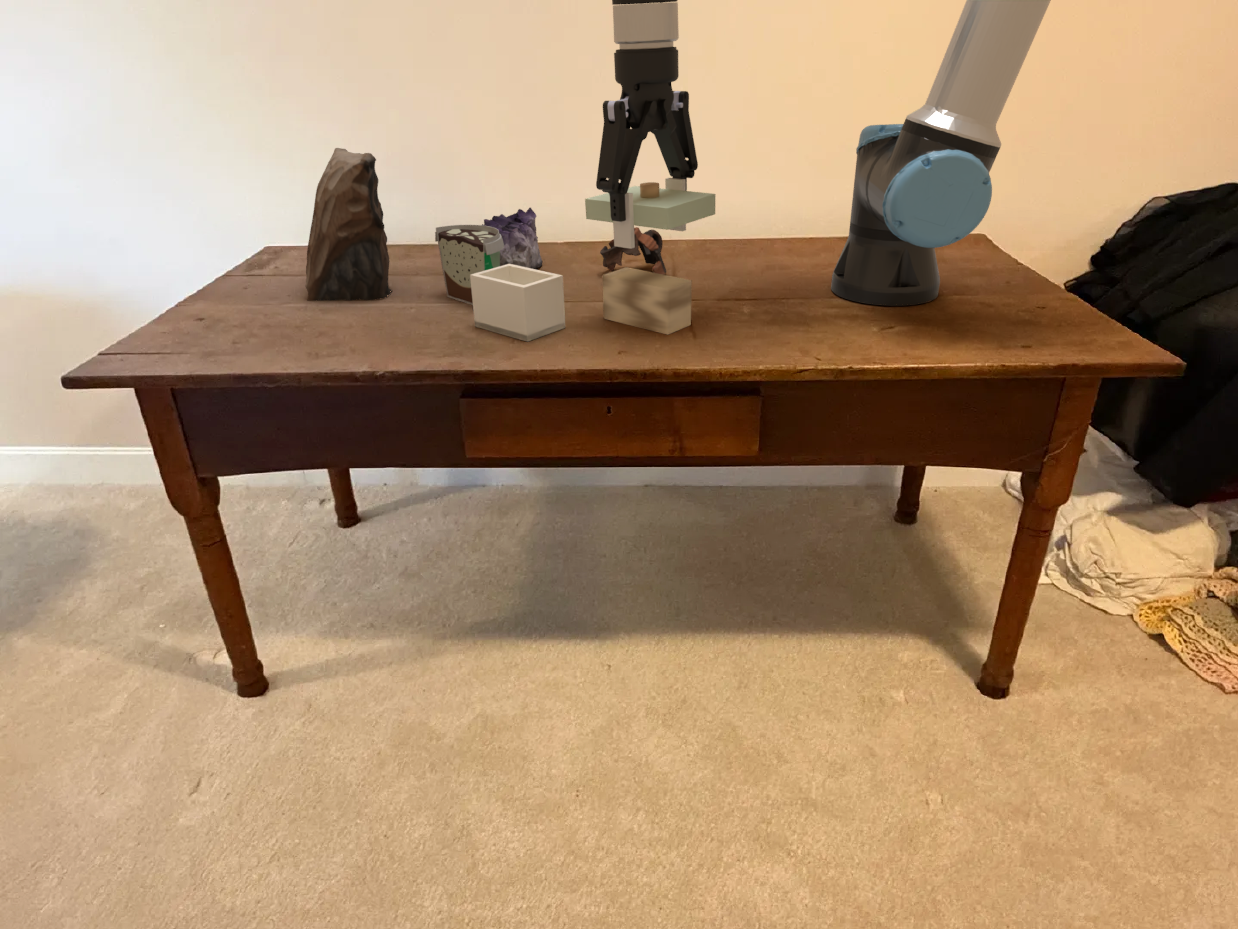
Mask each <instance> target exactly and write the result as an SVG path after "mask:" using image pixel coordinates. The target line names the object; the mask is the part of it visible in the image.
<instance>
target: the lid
mask: <svg viewBox="0 0 1238 929" xmlns="http://www.w3.org/2000/svg"><path fill="white" fill-rule="evenodd" d="M627 193H633V214H634V227H643V228H651V229H659V230H665V231H667V230H668V231H669V229H672V228H675V227H678V226H681V225H684V224H686V225H687V224H690V223H693V222H696V221H698V220H699V221H700V220H702V219H705V218H708V217H711V216H714V215H716V193H710V192H700V191H688V190H687V191H681V190H671V189H666V188H660V183H659V182H654V181H653V182H652V181H651V182H643V183H640V184H639V186H638V185H633V186H629V188H628V191H627ZM584 202H585V203H584V204H585V205H584V206H585V219H586V220H591V221H597V222H607V223H612V224H613V221H612V219H611V211H610V209H611V208H610V195H609V193H607V192H605V193H602V194H599V195H594V196H591V197H590V196H589V197H588V198H584Z"/></svg>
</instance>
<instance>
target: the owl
mask: <svg viewBox="0 0 1238 929" xmlns="http://www.w3.org/2000/svg"><path fill="white" fill-rule="evenodd" d="M376 161H377V158H376V157H375V156H374V155H373V153H370V152H364V153H360V152H351V151H348V150H347V149H346V148H342V147H341V148H339V147H335V148H334V150H333V153H332V154H331V157H330V158H329V161H328V162H327V165H326V167H325V169H324V171H323V173H322V175H321V177H320V179H319V180H318V181H319V182H318V183H317V186H316V190H315V197H314V198H315V199H314V206H313V212H312V213H313V214H312V219H311V226H310V231H309V238H308V242H307V243H308V244H307V251H306V265H305V276H306V279H305V289H306V291H307V301H308V302H311V301H312V302H315V301H316V300H317V301H358V300H359V299H361V301H374V300H375V299H376V300H380V298H383V299H385V298H384V297H386V298H388V297H387V295H389V294H390V293H392V292H390V291H391V290H392V289H390V287H389V271H390V256H389V251H388V246H387V243H388V236H387V233H386V231H385V224H384V222H383V221H384V212H383V208H382V205H381V202H380V199H379V194H378V188H379V187H378V185H379V177H378V175H377V172H376V168H375V167H376ZM390 295H391V294H390ZM390 295H389V296H390ZM356 299H357V300H356ZM317 301H316V302H317ZM359 301H360V300H359Z"/></svg>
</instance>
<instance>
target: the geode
mask: <svg viewBox="0 0 1238 929" xmlns="http://www.w3.org/2000/svg"><path fill="white" fill-rule="evenodd" d="M536 218H537V214H536V212H535V211H534V210H533V209H532V207H529V208H528V209H527V210H526V211H524V210H523V209H521V208H518V209H517V211H516V213H513V214H510V215H507V216H506V215H505V214H503V213H501V214H500V215H493V216H492V218H491V219H487V218H485V219H483V223H484V224H481V225H483V226H490V227H494V228H496V229H498V230H499V234H501V236H502V239H503V243H504V248H503V249H502V250H500V266H503V265H506V264H513V265H517V266H522V267H527V268H531V269H536V270H537V268H540V267H542V266H543V260H542V259H543V258H542V256H541V251H540V246H539V244H538V242H539V240H538V238H539V237H538V236H537V226H536Z"/></svg>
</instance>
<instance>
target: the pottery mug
mask: <svg viewBox="0 0 1238 929" xmlns="http://www.w3.org/2000/svg"><path fill="white" fill-rule="evenodd" d="M634 240H635V248H632V249H630V248H623V247H617V246H614V238H613V239H612V240H610V241H609V243H608V245H609V248H608V246H607V245H605V246H603V247H602V248H601V250H600V253H599V254H600V255H601V256H602V258H603V261H602V267H604V268H607V269H608V271H610V272H613V271H615V268H616V266H617V265H618V266H621V267H622V266H623V264H622V262H623V261H622V259H623V255H624V254H625V255H628V256H635V257H637V256H641V255H642V256H643V258H644V262H645V264H650V265H653V266H652V267H651V270H652V272H653V273H658V274H663V275H666V273H667V269H666V266H665V263H664V260H663V257H662V250H663V238H662V235H661V234H660V233H659V231H657V230H655V229H649V230H646V231H644V232H642V231H641V229H640V227H639V226H634ZM639 249H640V250H639ZM623 253H624V254H623Z"/></svg>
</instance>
